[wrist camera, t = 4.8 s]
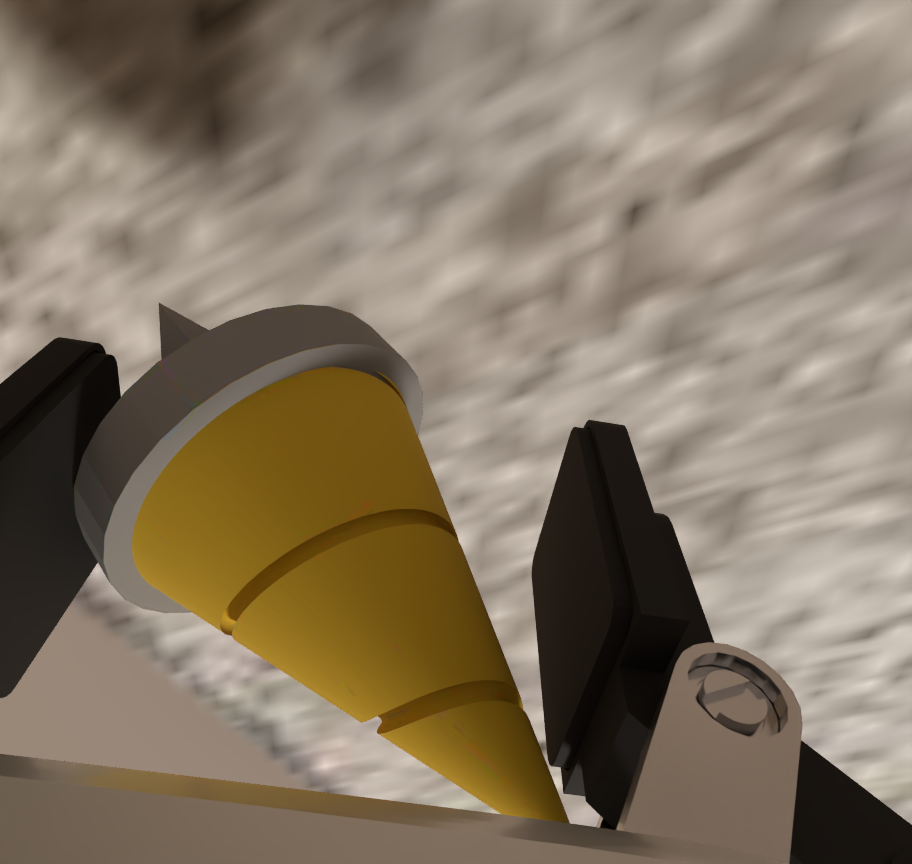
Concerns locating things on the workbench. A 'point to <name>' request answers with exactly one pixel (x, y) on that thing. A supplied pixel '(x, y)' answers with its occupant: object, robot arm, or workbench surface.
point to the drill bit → (311, 535)
